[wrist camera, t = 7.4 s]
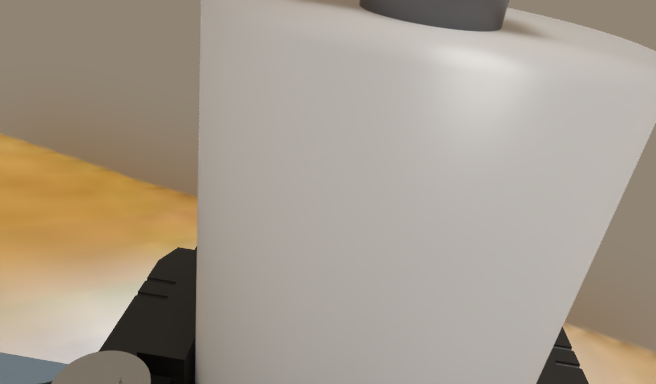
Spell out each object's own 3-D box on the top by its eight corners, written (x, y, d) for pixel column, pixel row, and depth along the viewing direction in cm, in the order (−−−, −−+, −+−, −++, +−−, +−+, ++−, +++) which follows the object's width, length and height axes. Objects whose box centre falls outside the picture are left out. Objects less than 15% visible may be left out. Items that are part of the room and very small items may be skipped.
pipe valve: (397, 528, 14) (617, -111, 7) (406, 794, 10) (1009, -175, 3) (154, 487, 15) (126, -184, 7) (56, 732, 10) (-269, -361, 3)
